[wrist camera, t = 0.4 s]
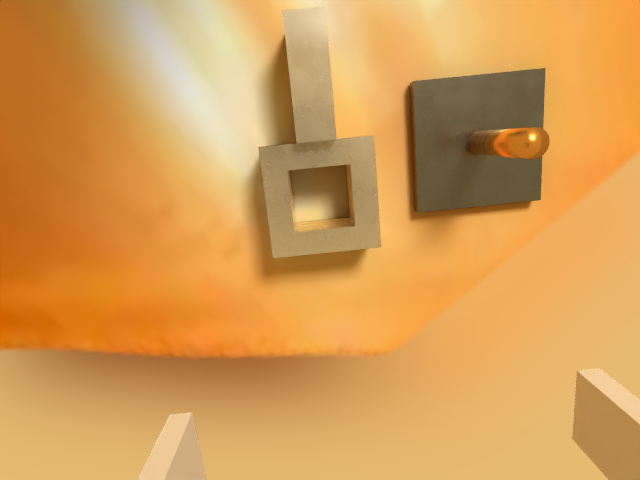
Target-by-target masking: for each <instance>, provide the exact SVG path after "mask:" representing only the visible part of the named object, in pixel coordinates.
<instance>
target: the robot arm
mask: <svg viewBox="0 0 640 480" xmlns="http://www.w3.org/2000/svg"><path fill="white" fill-rule="evenodd" d="M572 439H573V440H574V441H575V442H576V443H577V445H578V446H579V447H580V448H581V449H582V450H583V451H584V453H586V455H587V456H588V457H589V458H590V459H591V460H592V461H593V462H594V464H595V465H596V466H597V467H598V468H599V469H600V471H601V472H603V474H604V475H605V476H606V477H607V478H608V480H640V400H639V399H638V398H637V397H635V396H634V395H633V394H631V393H630V392H629V391H628V390H626V389H625V388H624V387H623V386H621V385H620V384H619V383H617V382H616V381H615V380H614V379H612V378H611V377H610V376H608V375H607V374H606V373H605V372H603V371H602V370H601V369H599V368H598V369H590V370H581V371H577V380H576V395H575V408H574V424H573V438H572ZM138 480H206V476H205V471H204V466H203V461H202V457H201V452H200V447H199V442H198V437H197V433H196V428H195V423H194V418H193V413H192V412H191V413H181V414H172V415H169V417H168V419H167V421H166V423H165V425H164V427H163V429H162V431H161V433H160V435H159V437H158V440H157V441H156V444H155V445H154V447H153V450H152V452H151V454H150V456H149V458H148V460H147V462H146V464H145V466H144V468H143V470H142V472H141V474H140V476H139V478H138Z"/></svg>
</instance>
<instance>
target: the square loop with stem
mask: <svg viewBox="0 0 640 480" xmlns="http://www.w3.org/2000/svg"><path fill="white" fill-rule="evenodd" d="M282 13H283V22H284V31H285V40H286V50H287V59H288V68H289V77H290V86H291V96H292V105H293V114H294V123H295V132H296V142H297V143H295V144H285V145H275V146H265V147H258V148H259V156H260V163H261V171H262V179H263V186H264V194H265V202H266V209H267V217H268V224H269V232H270V240H271V247H272V255H273V258H281V257H291V256H301V255H310V254H320V253H330V252H339V251H349V250H359V249H369V248H378V247H381V238H380V222H379V206H378V190H377V174H376V158H375V143H374V136H364V137H354V138H344V139H336V128H335V116H334V104H333V92H332V80H331V69H330V57H329V45H328V33H327V22H326V10H325V7H315V8H305V9H294V10H284V11H282ZM338 165H346V173H347V185H348V198H349V210H350V217H348V218H338V219H328V220H318V221H308V222H299V223H296V222H295V213H294V204H293V196H292V187H291V178H290V170H298V169H308V168H318V167H328V166H338Z"/></svg>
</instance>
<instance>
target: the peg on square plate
mask: <svg viewBox="0 0 640 480" xmlns="http://www.w3.org/2000/svg"><path fill="white" fill-rule="evenodd" d="M544 89H545V68H542V69H532V70H522V71H512V72H502V73H492V74H482V75H472V76H462V77H452V78H442V79H432V80H422V81H413V82H411V83H410V93H411V117H412V142H413V167H414V191H415V211H417V212H427V211H437V210H447V209H457V208H467V207H476V206H486V205H496V204H506V203H515V202H525V201H535V200H541V173H542V155H543V154H544V153H545V152H546V151H547V149H548V146H549V136H548V134H547V132H546V131H545V130H544V129H543V117H544Z"/></svg>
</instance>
